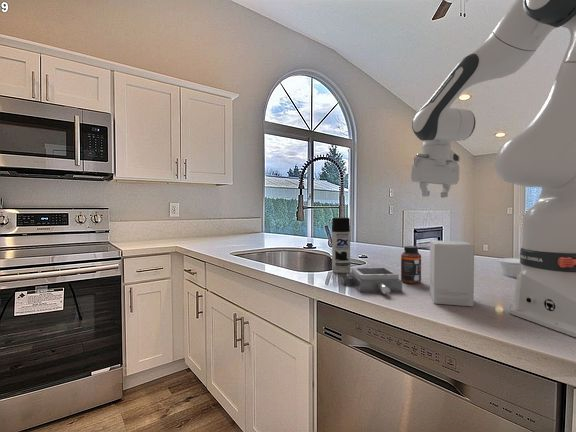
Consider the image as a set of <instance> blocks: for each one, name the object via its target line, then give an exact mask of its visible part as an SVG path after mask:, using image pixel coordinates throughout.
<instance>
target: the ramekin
mask: <svg viewBox="0 0 576 432" xmlns="http://www.w3.org/2000/svg"><path fill="white" fill-rule="evenodd" d="M498 263H499V264H500V270H501V274H503V275H504V276H505V277H509V278H515V279H517V276H518V275H519V273H520V271H521V268H522V264H521V263H520V257H519V258H517V257H515V258H514V257H504V258H503V257H502V258H499V260H498Z"/></svg>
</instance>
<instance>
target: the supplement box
mask: <svg viewBox="0 0 576 432" xmlns="http://www.w3.org/2000/svg"><path fill="white" fill-rule="evenodd" d="M474 280H475V245H474V244H472V243H470V242H468V241H465V240H436V239H434V240H430V241H429V296H430V298H431V300H432V302H433V304H436V305H437V304H439V305H446V306H447V305H451V306H461V307H462V306H463V307H471V308H472V307H474V303H475V301H474V293H475V292H474V291H475V287H474V286H475V285H474V284H475V283H474V282H475V281H474Z"/></svg>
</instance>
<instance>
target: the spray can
mask: <svg viewBox="0 0 576 432" xmlns="http://www.w3.org/2000/svg"><path fill="white" fill-rule="evenodd" d="M331 221H332V222H331V254H332V255H331V261H332V262H331V265H332V269H331V270H332V272H333V273H334V274H349V272H350V271H352V267H351V225H350V224H351V223H350V217H332V220H331Z"/></svg>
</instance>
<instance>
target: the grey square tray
mask: <svg viewBox="0 0 576 432" xmlns="http://www.w3.org/2000/svg"><path fill="white" fill-rule="evenodd" d="M340 279H341V280H340V282H341V284H342V286H354V287H355V289H356V290H357V291H358V292H359V293H382V294H383V295H385V296H388V295H390V294H391V293H395V292H399V293H401V292H403V282H402V281H401V278H399V273H397V272H395V271H393V270H391V269H390V268H388V267H385V266H384V267H373V266H372V267H351V270H350V272H349V273H348V275H341V278H340Z"/></svg>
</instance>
